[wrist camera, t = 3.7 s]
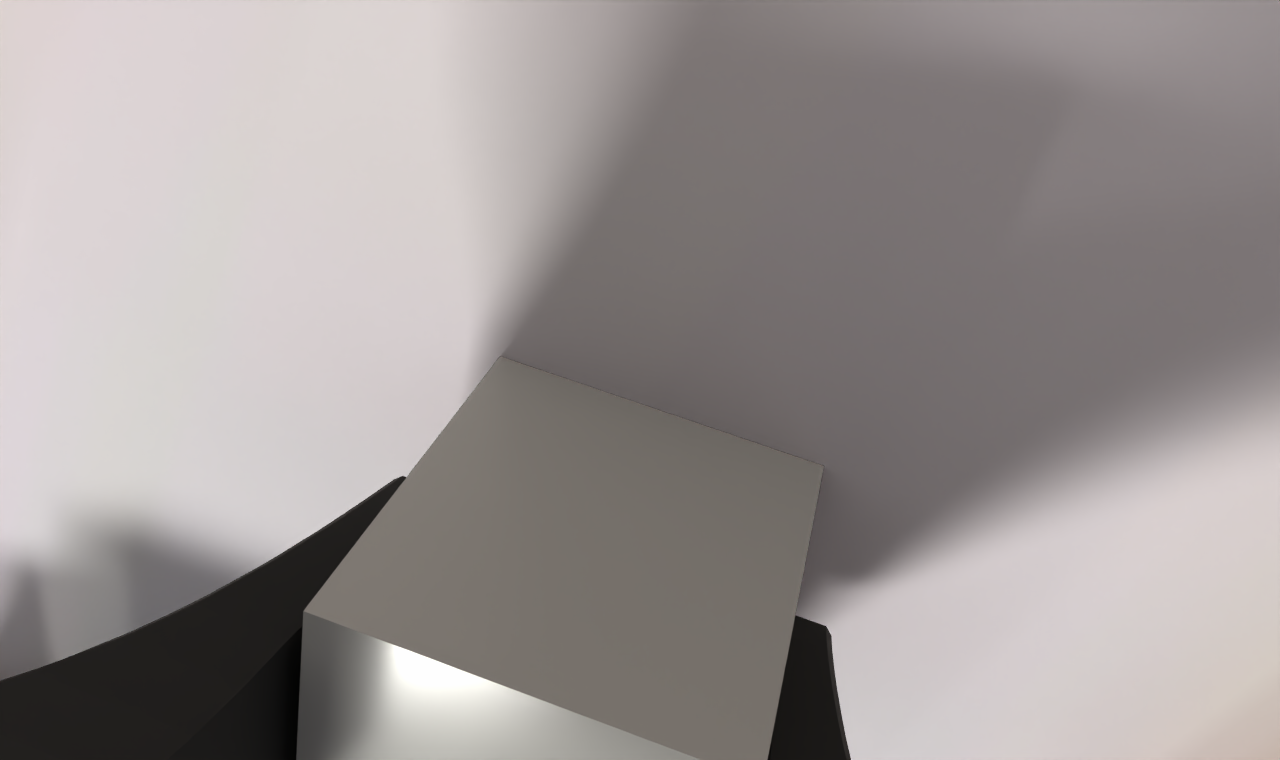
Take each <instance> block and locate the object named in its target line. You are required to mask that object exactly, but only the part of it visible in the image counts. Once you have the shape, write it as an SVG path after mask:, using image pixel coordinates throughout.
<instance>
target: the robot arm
mask: <svg viewBox="0 0 1280 760" xmlns="http://www.w3.org/2000/svg"><path fill="white" fill-rule="evenodd" d="M406 478H407V477H404V476H401V477H399V478H397V479H394V480H393V481H391V482H390V483H388V484H387V485H385V486H384V487H383V488H381V489H380V490H378V491H377V492H375V493H374V494H372V495H371V496H370V497H368V498H367V499H365V500H364V501H362V502H361V503H359V504H358V505H356V506H355V507H353V508H352V509H350V510H349V511H347V512H346V513H345V514H343V515H341V516H340V517H338V518H337V519H335V520H334V521H332V522H331V523H329V524H328V525H326V526H325V527H323V528H322V529H320V530H319V531H317V532H315V533H314V534H312V535H311V536H309V537H307V538H306V539H304V540H302V541H301V542H299V543H298V544H296V545H294V546H293V547H291V548H289V549H288V550H286V551H285V552H283V553H281V554H280V555H278V556H277V557H275V558H273V559H272V560H270V561H268V562H266V563H265V564H263V565H261V566H260V567H258V568H256V569H254V570H252V571H250V572H249V573H247V574H245V575H243V576H241V577H240V578H238V579H236V580H234V581H232V582H231V583H229V584H227V585H225V586H223V587H221V588H220V589H218V590H216V591H214V592H212V593H211V594H209V595H207V596H205V597H203V598H201V599H199V600H197V601H195V602H193V603H191V604H189V605H187V606H185V607H183V608H181V609H179V610H177V611H175V612H173V613H171V614H169V615H167V616H164V617H162V618H160V619H158V620H156V621H154V622H151V623H149V624H147V625H145V626H143V627H140V628H138V629H136V630H134V631H131V632H129V633H127V634H124V635H122V636H120V637H117V638H115V639H112V640H110V641H107V642H105V643H102V644H100V645H98V646H95V647H93V648H90V649H88V650H85V651H83V652H80V653H78V654H75V655H73V656H70V657H68V658H65V659H62V660H60V661H57V662H54V663H52V664H49V665H46V666H43V667H40V668H38V669H35V670H32V671H29V672H26V673H22V674H19V675H16V676H13V677H10V678H7V679H4V680H1V681H0V760H296V754H297V733H298V712H299V692H300V671H301V650H302V629H303V611H304V610H305V608H306V607H307V606H308V604H309V603H310V602H311V601H312V599H313V598H314V597H315V595H316V594H317V593H318V591H319V590H320V589H321V588H322V586H323V585H324V584H325V582H326V581H327V580H328V579H329V577H330V576H331V575H332V573H333V572H334V571H335V569H336V568H337V567H338V566H339V564H340V563H341V562H342V560H343V559H344V558H345V557H346V555H347V554H348V553H349V551H350V550H351V549H352V547H353V546H354V545H355V544H356V542H357V541H358V540H359V538H360V537H361V536H362V534H363V533H364V532H365V531H366V529H367V528H368V527H369V525H370V524H371V523H372V522H373V520H374V519H375V518H376V516H377V515H378V514H379V512H380V511H381V510H382V509H383V507H384V506H385V505H386V503H387V502H388V501H389V500H390V498H391V497H392V496H393V494H394V493H395V492H396V490H397V489H398V488H399V487H400V485H401V484H402V483H403V481H404V480H405V479H406ZM767 760H851V758H850V754H849V749H848V745H847V741H846V736H845V731H844V726H843V721H842V715H841V710H840V704H839V698H838V692H837V686H836V679H835V671H834V663H833V654H832V641H831V634H830V633H829V631H828V629H827V627H826V626H824V625H821V624H818V623H815V622H812V621H810V620H807V619H804V618H801V617H798V616H796V615H795V619H794V625H793V630H792V635H791V640H790V645H789V651H788V656H787V661H786V666H785V671H784V676H783V682H782V687H781V692H780V697H779V702H778V707H777V713H776V718H775V723H774V728H773V733H772V738H771V744H770V749H769V754H768V759H767Z"/></svg>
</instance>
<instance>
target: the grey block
mask: <svg viewBox="0 0 1280 760" xmlns="http://www.w3.org/2000/svg"><path fill="white" fill-rule="evenodd" d="M823 469H824V466H823V465H820V464H817V463H814V462H811V461H808V460H805V459H802V458H799V457H796V456H793V455H790V454H787V453H784V452H781V451H778V450H775V449H772V448H770V447H767V446H764V445H761V444H758V443H755V442H752V441H749V440H746V439H743V438H740V437H737V436H734V435H731V434H728V433H725V432H722V431H719V430H716V429H713V428H711V427H708V426H705V425H702V424H699V423H696V422H693V421H690V420H687V419H684V418H681V417H678V416H675V415H672V414H669V413H666V412H663V411H660V410H657V409H654V408H651V407H649V406H646V405H643V404H640V403H637V402H634V401H631V400H628V399H625V398H622V397H619V396H616V395H613V394H610V393H607V392H604V391H601V390H598V389H595V388H592V387H589V386H587V385H584V384H581V383H578V382H575V381H572V380H569V379H566V378H563V377H560V376H557V375H554V374H551V373H548V372H545V371H542V370H539V369H536V368H533V367H530V366H528V365H525V364H522V363H519V362H516V361H513V360H510V359H507V358H504V357H501V356H500V357H499V358H498V360H497V361H496V362H495V364H494V365H493V366H492V367H491V369H490V370H489V371H488V373H487V374H486V375H485V376H484V378H483V379H482V380H481V382H480V383H479V384H478V386H477V387H476V388H475V389H474V391H473V392H472V393H471V395H470V396H469V397H468V399H467V400H466V401H465V402H464V404H463V405H462V406H461V408H460V409H459V410H458V411H457V413H456V414H455V415H454V417H453V418H452V419H451V421H450V422H449V423H448V424H447V426H446V427H445V428H444V430H443V431H442V432H441V433H440V435H439V436H438V437H437V439H436V440H435V441H434V443H433V444H432V445H431V446H430V448H429V449H428V450H427V452H426V453H425V454H424V455H423V457H422V458H421V459H420V461H419V462H418V463H417V465H416V466H415V467H414V468H413V470H412V471H411V472H410V474H409V475H408V476H407V478H406V479H405V480H404V481H403V483H402V484H401V485H400V487H399V488H398V489H397V490H396V492H395V493H394V494H393V496H392V497H391V498H390V500H389V501H388V502H387V503H386V505H385V506H384V507H383V509H382V510H381V511H380V512H379V514H378V515H377V516H376V518H375V519H374V520H373V522H372V523H371V524H370V525H369V527H368V528H367V529H366V531H365V532H364V533H363V534H362V536H361V537H360V538H359V540H358V541H357V542H356V544H355V545H354V546H353V547H352V549H351V550H350V551H349V553H348V554H347V555H346V557H345V558H344V559H343V560H342V562H341V563H340V564H339V566H338V567H337V568H336V569H335V571H334V572H333V573H332V575H331V576H330V577H329V579H328V580H327V581H326V582H325V584H324V585H323V586H322V588H321V589H320V590H319V591H318V593H317V594H316V595H315V597H314V598H313V599H312V601H311V602H310V603H309V604H308V606H307V607H306V608H305V610H304V611H303V629H302V650H301V671H300V692H299V712H298V733H297V754H296V760H767V759H768V754H769V749H770V744H771V738H772V733H773V728H774V723H775V718H776V713H777V707H778V702H779V697H780V692H781V687H782V682H783V676H784V671H785V666H786V661H787V656H788V651H789V645H790V640H791V635H792V630H793V625H794V619H795V614H796V609H797V604H798V599H799V594H800V588H801V583H802V578H803V573H804V568H805V563H806V557H807V552H808V547H809V542H810V537H811V532H812V526H813V521H814V516H815V511H816V506H817V500H818V495H819V490H820V485H821V480H822V475H823Z"/></svg>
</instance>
